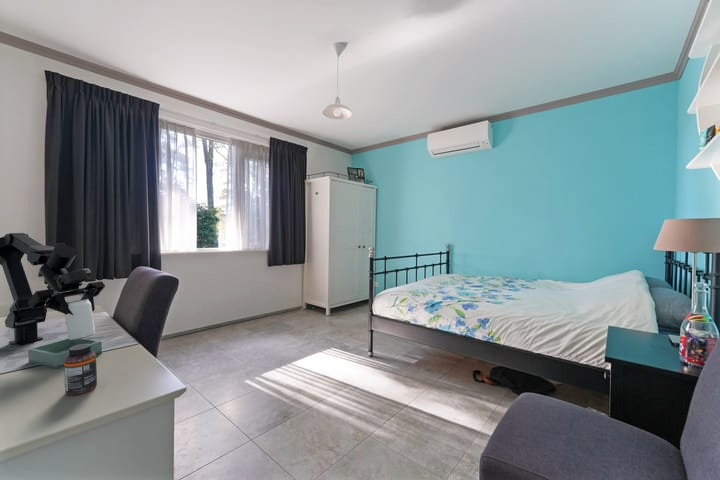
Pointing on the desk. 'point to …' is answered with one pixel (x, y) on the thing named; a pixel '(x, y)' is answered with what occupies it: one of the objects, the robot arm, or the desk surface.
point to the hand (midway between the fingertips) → (83, 313)
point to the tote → (59, 351)
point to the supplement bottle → (80, 370)
